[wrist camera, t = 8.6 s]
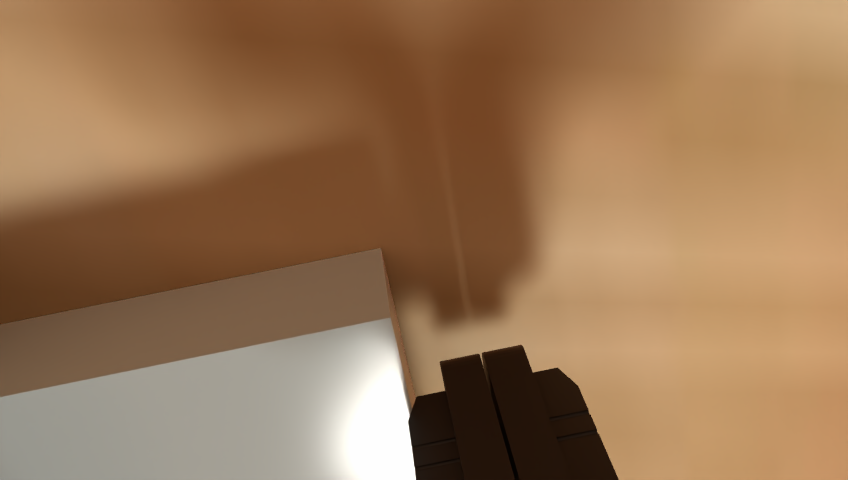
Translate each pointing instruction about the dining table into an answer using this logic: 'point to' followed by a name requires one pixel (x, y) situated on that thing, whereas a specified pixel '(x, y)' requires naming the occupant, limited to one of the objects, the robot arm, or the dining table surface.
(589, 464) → the robot arm
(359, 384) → the tile
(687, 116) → the dining table surface
